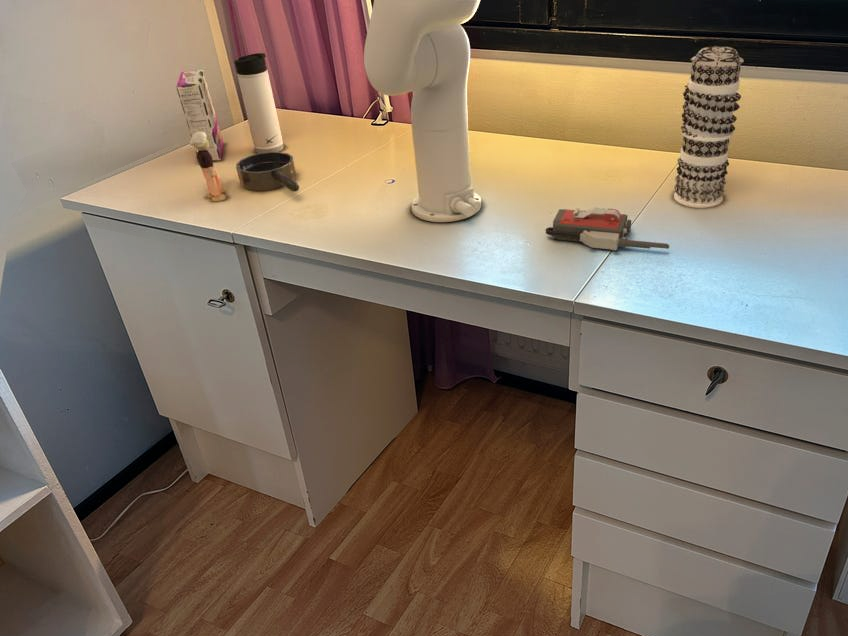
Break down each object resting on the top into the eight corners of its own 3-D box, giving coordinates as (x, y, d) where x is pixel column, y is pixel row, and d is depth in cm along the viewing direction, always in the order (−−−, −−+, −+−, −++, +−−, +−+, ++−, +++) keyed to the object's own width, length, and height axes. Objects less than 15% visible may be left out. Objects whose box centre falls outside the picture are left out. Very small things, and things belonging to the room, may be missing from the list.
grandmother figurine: (235, 198, 141) (218, 133, 133) (217, 204, 138) (198, 139, 131) (214, 188, 145) (196, 124, 138) (197, 194, 143) (178, 130, 135)
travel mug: (278, 155, 158) (257, 58, 147) (250, 154, 160) (227, 58, 148) (290, 144, 163) (270, 50, 152) (262, 144, 165) (241, 50, 153)
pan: (305, 181, 146) (302, 162, 143) (253, 197, 141) (248, 177, 138) (283, 166, 153) (279, 147, 151) (232, 180, 148) (227, 161, 146)
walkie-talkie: (541, 245, 119) (667, 258, 113) (541, 220, 116) (670, 232, 111) (554, 222, 125) (673, 232, 120) (554, 198, 123) (676, 208, 117)
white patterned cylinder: (661, 200, 130) (677, 52, 115) (688, 183, 136) (706, 40, 121) (708, 213, 125) (730, 60, 110) (734, 195, 130) (758, 47, 116)
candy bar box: (201, 146, 165) (180, 71, 156) (224, 143, 166) (204, 68, 156) (197, 164, 156) (174, 85, 147) (221, 161, 157) (200, 82, 147)
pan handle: (301, 191, 136) (299, 182, 135) (292, 194, 135) (290, 184, 134) (280, 176, 143) (278, 167, 142) (271, 178, 142) (269, 170, 141)
